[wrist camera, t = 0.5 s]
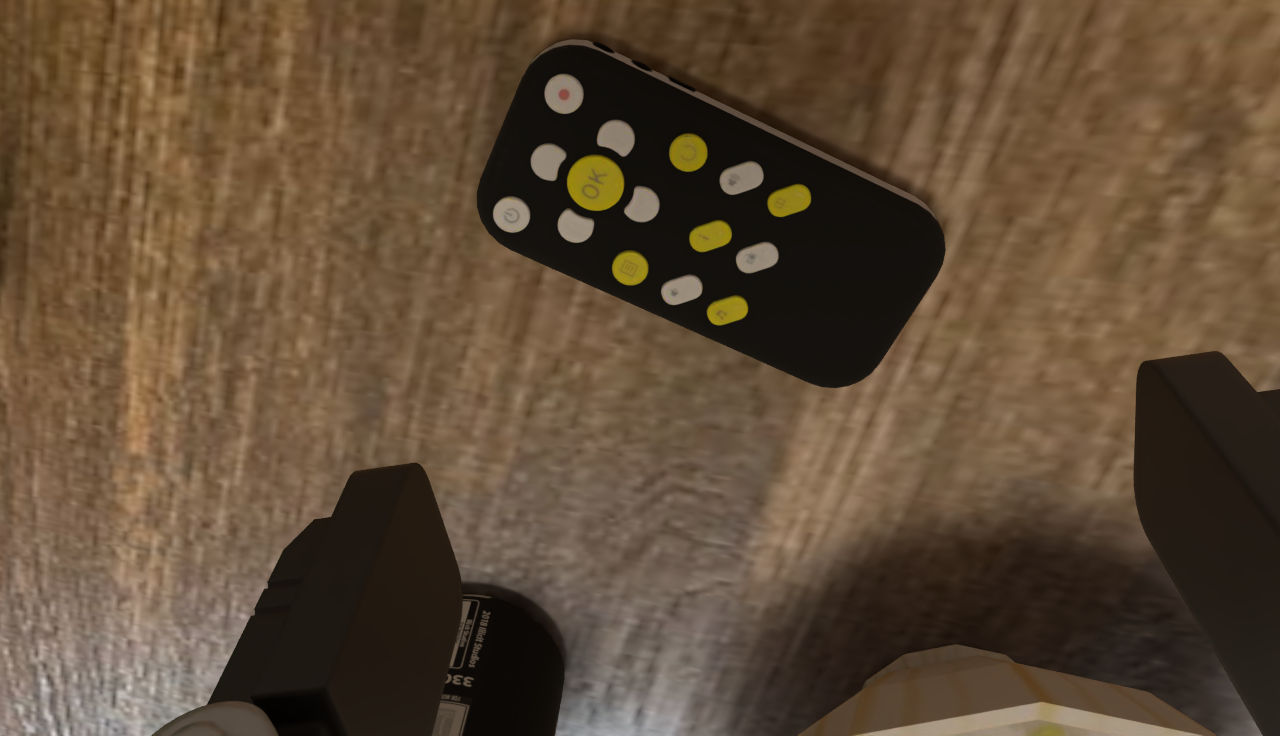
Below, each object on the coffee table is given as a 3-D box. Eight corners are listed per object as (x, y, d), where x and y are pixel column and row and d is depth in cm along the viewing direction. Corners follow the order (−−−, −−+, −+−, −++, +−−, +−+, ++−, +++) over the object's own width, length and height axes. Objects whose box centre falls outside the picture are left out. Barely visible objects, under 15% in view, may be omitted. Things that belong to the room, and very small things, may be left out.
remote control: (849, 381, 35) (856, 413, 33) (469, 210, 33) (455, 235, 31) (958, 212, 32) (972, 238, 30) (550, 14, 30) (540, 30, 28)
